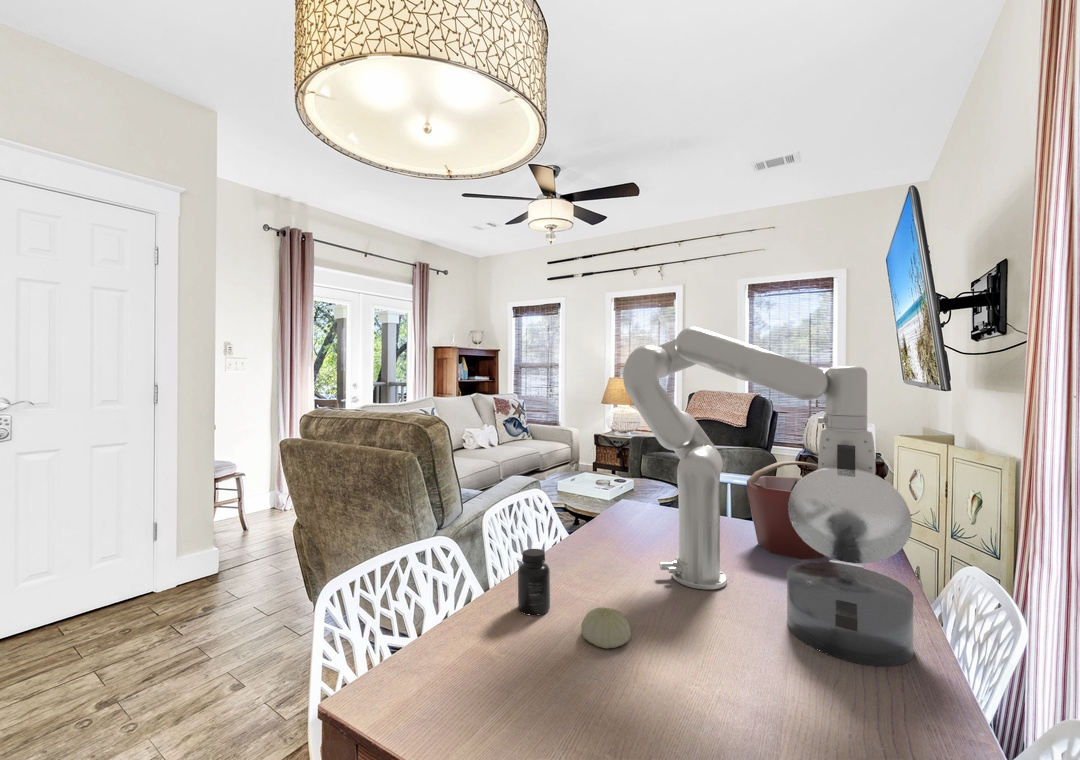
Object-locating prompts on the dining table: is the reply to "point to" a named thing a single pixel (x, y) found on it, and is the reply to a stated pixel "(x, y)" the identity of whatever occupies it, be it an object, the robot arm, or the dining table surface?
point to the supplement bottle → (533, 583)
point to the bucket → (776, 513)
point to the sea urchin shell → (605, 628)
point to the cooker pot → (850, 612)
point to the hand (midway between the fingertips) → (846, 508)
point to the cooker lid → (849, 512)
